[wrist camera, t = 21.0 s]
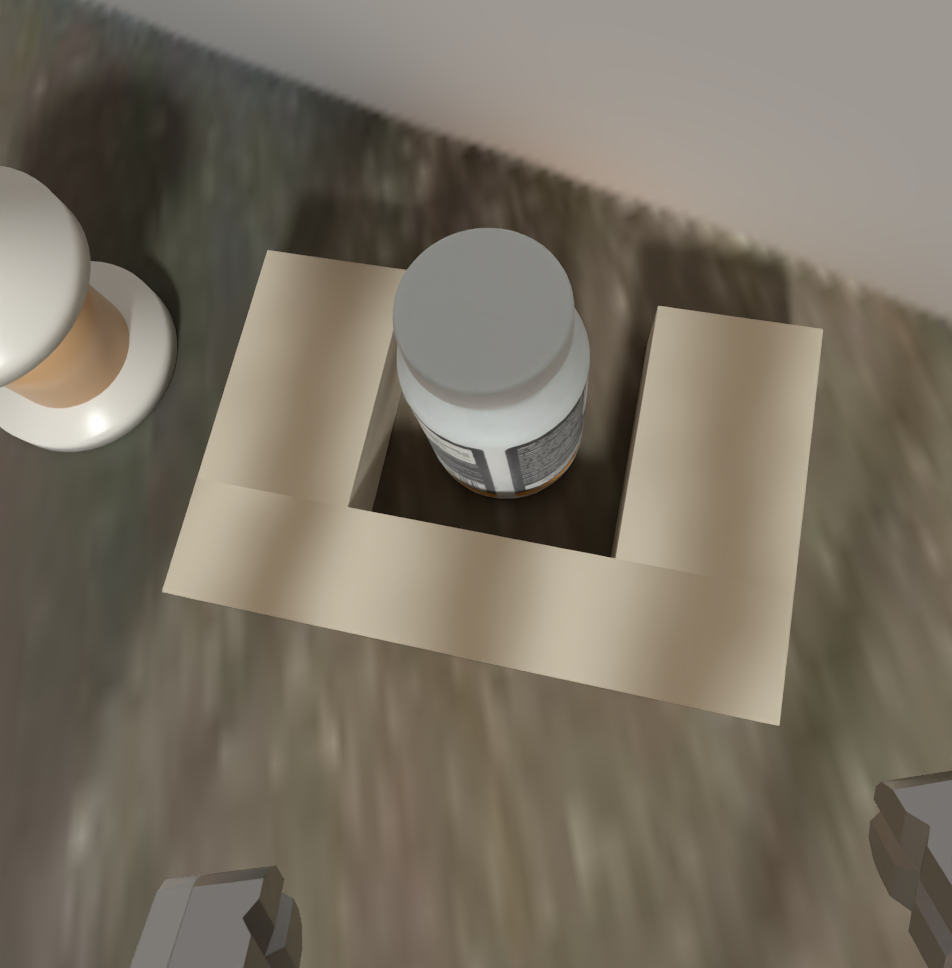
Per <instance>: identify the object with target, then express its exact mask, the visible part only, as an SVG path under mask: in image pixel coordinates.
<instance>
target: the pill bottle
mask: <svg viewBox="0 0 952 968" xmlns="http://www.w3.org/2000/svg"><path fill="white" fill-rule="evenodd" d="M392 318H393V328H394V334H395V337H396V341H397V344H398V345H397V371H398V377H399V382H400V386H401V389H402V392H403V395H404V397H405V399H406V401H407V403H408V404H409V406H410V408H411V409H412V411H413V413H414V415H415V416H416V418H417V420H418V422H419V424H420V425H421V427H422V429H423V431H424V433H425V435H426V436H427V438H428V440H429V442H430V444H431V446H432V448H433V450H434V451H435V453H436V455H437V457H438V459H439V461H440V462H441V463H442V465H443V466H444V468H445V469H446V470H447V472H448V473H449V474H450V475H451V476H452V477H453V478H454V479H455V480H456V481H458V482H459V483H460V484H462V485H463V486H464V487H466V488H468V489H469V490H471V491H473V492H475V493H478V494H481V495H484V496H488V497H493V498H498V499H513V498H520V497H525V496H529V495H532V494H535V493H537V492H539V491H541V490H543V489H545V488H547V487H548V486H550V485H551V484H553V483H554V482H555V481H556V480H558V479H559V478H560V477H561V476H562V475H563V474H564V472H565V471H566V470H567V469H568V468H569V466H570V465H571V463H572V461H573V460H574V458H575V456H576V454H577V451H578V449H579V446H580V442H581V438H582V434H583V427H584V413H585V404H586V398H587V386H588V377H589V366H590V348H589V342H588V336H587V333H586V330H585V327H584V325H583V322H582V320H581V318H580V316H579V314H578V312H577V311H576V309H575V307H574V298H573V292H572V288H571V284H570V282H569V279H568V276H567V274H566V272H565V270H564V269H563V267H562V266H561V264H560V263H559V262H558V260H557V259H556V258H555V257H554V255H553V254H552V253H551V252H550V251H549V250H548V249H547V248H545V247H544V246H543V245H542V244H540V243H538V242H537V241H535V240H534V239H532V238H530V237H528V236H526V235H523V234H520V233H518V232H515V231H511V230H506V229H499V228H476V229H470V230H465V231H461V232H458V233H455V234H452V235H450V236H447V237H445V238H443V239H441V240H439V241H438V242H436V243H434V244H433V245H431V246H430V247H429V248H427V249H426V250H425V251H424V252H422V253H421V254H420V255H419V256H418V257H417V258H416V259H415V260H414V261H413V263H412V264H411V265H410V266H409V268H408V269H407V271H406V272H405V274H404V276H403V277H402V279H401V282H400V284H399V286H398V289H397V292H396V295H395V299H394V304H393V317H392Z"/></svg>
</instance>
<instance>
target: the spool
mask: <svg viewBox="0 0 952 968" xmlns="http://www.w3.org/2000/svg"><path fill="white" fill-rule="evenodd" d="M176 359H177V335H176V329H175V326H174V322H173V319H172V317H171V315H170V313H169V311H168V309H167V307H166V306H165V304H164V303H163V302H162V300H161V299H160V298H159V297H158V296H157V295H156V294H155V293H154V292H153V291H152V290H151V289H150V288H149V287H148V286H147V285H146V284H145V283H144V282H143V281H142V280H141V279H139V278H138V277H137V276H135V275H134V274H133V273H131V272H129V271H127V270H125V269H124V268H121V267H118V266H116V265H113V264H108V263H104V262H95V261H91V259H90V251H89V246H88V242H87V239H86V235H85V233H84V231H83V229H82V227H81V225H80V223H79V222H78V220H77V219H76V217H75V216H74V214H73V213H72V212H71V211H70V210H69V209H68V208H67V207H66V206H65V205H64V204H63V203H62V202H61V201H60V200H59V199H58V198H57V197H56V196H55V195H54V194H53V193H52V192H51V191H50V190H49V189H48V188H47V187H46V186H45V185H43V184H42V183H41V182H39V181H38V180H37V179H35V178H33V177H31V176H30V175H28V174H26V173H24V172H21V171H18V170H15V169H13V168H8V167H3V166H0V427H1V428H3V429H4V430H5V431H7V432H9V433H10V434H12V435H13V436H16V437H18V438H20V439H22V440H24V441H27V442H29V443H31V444H33V445H36V446H38V447H40V448H43V449H47V450H51V451H58V452H80V451H86V450H91V449H95V448H98V447H102V446H104V445H107V444H109V443H111V442H114V441H115V440H117V439H119V438H121V437H123V436H125V435H126V434H127V433H129V432H130V431H132V430H133V429H134V428H136V427H137V426H138V425H139V424H140V423H141V422H143V421H144V420H145V419H146V418H147V417H148V416H149V414H150V413H151V412H152V411H153V410H154V409H155V407H156V406H157V405H158V403H159V402H160V400H161V399H162V397H163V395H164V394H165V392H166V390H167V388H168V386H169V384H170V381H171V379H172V376H173V373H174V369H175V365H176Z"/></svg>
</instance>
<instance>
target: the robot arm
mask: <svg viewBox="0 0 952 968" xmlns="http://www.w3.org/2000/svg"><path fill="white" fill-rule="evenodd" d="M874 801H875V803H876V804H877V806H878V808H879V810H880V812H879V813H878V814H877V815H876V816H875V817H874V818H873V819H872V820H871V821H870V829H869V841H870V846H871V851H872V856H873V860H874V862H875V865H876V868H877V870H878V873H879V875H880V877H881V879H882V881H883V883H884V885H885V887H886V889H887V891H888V893H889V895H890V896H891V897H892V898H894V899H895V900H896V901H898V902H899V903H901V904H902V905H903V906H905V907H906V908H907V909H909V910H910V911H911V919H910V925H909V933H910V935H911V936H912V938H913V940H914V942H915V944H916V946H917V948H918V949H919V951H920V953H921V955H922V957H923V959H924V961H925V962H926V964H927V966H928V968H952V771H947V772H940V773H934V774H927V775H921V776H914V777H908V778H902V779H895V780H889V781H882V782H880V783H879V784H878V785H877V786H876V789H875V795H874ZM283 882H284V878H283V877H282V875H281V873H280V871H279V870H278V868H277V866H269V867H261V868H253V869H245V870H237V871H229V872H222V873H214V874H201V875H194V876H187V877H180V878H173V879H166V880H165V881H164V883H163V884H162V885H161V887H160V888H159V890H158V891H157V893H156V894H155V897H154V900H153V903H152V906H151V908H150V911H149V914H148V917H147V920H146V923H145V925H144V928H143V931H142V934H141V937H140V940H139V942H138V945H137V948H136V951H135V954H134V957H133V959H132V962H131V965H130V968H299V966H300V959H301V952H302V923H301V918H300V913H299V909H298V907H297V905H296V903H295V900H294V898H292V897H290V896H288V895H286V894H284V893H282V888H283Z"/></svg>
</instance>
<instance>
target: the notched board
mask: <svg viewBox="0 0 952 968" xmlns="http://www.w3.org/2000/svg"><path fill="white" fill-rule="evenodd" d="M406 271H407V270H404V269H396V268H389V267H382V266H375V265H368V264H361V263H354V262H347V261H340V260H333V259H326V258H319V257H312V256H305V255H298V254H291V253H284V252H277V251H270V250H268V251H267V254H266V257H265V260H264V264H263V267H262V270H261V273H260V276H259V280H258V283H257V286H256V289H255V293H254V296H253V299H252V302H251V306H250V309H249V312H248V315H247V319H246V322H245V325H244V328H243V331H242V335H241V338H240V341H239V344H238V348H237V351H236V354H235V357H234V361H233V364H232V367H231V370H230V373H229V377H228V380H227V383H226V386H225V390H224V393H223V396H222V399H221V403H220V406H219V409H218V412H217V415H216V419H215V422H214V425H213V428H212V432H211V435H210V438H209V441H208V445H207V448H206V451H205V454H204V458H203V461H202V464H201V467H200V470H199V474H198V477H197V480H196V483H195V487H194V490H193V493H192V496H191V500H190V503H189V506H188V509H187V512H186V516H185V519H184V522H183V525H182V529H181V532H180V535H179V538H178V542H177V545H176V548H175V551H174V554H173V558H172V561H171V564H170V567H169V571H168V574H167V577H166V580H165V584H164V587H163V590H162V592H165V593H170V594H174V595H178V596H183V597H187V598H192V599H196V600H201V601H205V602H210V603H214V604H219V605H224V606H228V607H233V608H237V609H242V610H247V611H251V612H256V613H260V614H265V615H270V616H274V617H279V618H283V619H288V620H293V621H297V622H302V623H306V624H311V625H316V626H320V627H325V628H329V629H334V630H339V631H343V632H348V633H352V634H357V635H362V636H366V637H371V638H375V639H380V640H385V641H389V642H394V643H398V644H403V645H408V646H412V647H417V648H421V649H426V650H431V651H435V652H440V653H444V654H449V655H454V656H458V657H463V658H467V659H472V660H477V661H481V662H486V663H490V664H495V665H500V666H504V667H509V668H513V669H518V670H523V671H527V672H532V673H536V674H541V675H546V676H550V677H555V678H559V679H564V680H569V681H573V682H578V683H583V684H587V685H592V686H596V687H601V688H606V689H610V690H615V691H619V692H624V693H629V694H633V695H638V696H642V697H647V698H652V699H656V700H661V701H665V702H670V703H675V704H679V705H684V706H688V707H693V708H698V709H702V710H707V711H711V712H716V713H721V714H725V715H730V716H734V717H739V718H744V719H748V720H753V721H758V722H763V723H768V724H772V725H777V726H779V725H780V715H781V706H782V697H783V688H784V679H785V670H786V661H787V652H788V643H789V634H790V625H791V616H792V607H793V598H794V589H795V580H796V570H797V561H798V552H799V543H800V534H801V525H802V516H803V507H804V498H805V489H806V480H807V471H808V462H809V453H810V444H811V435H812V425H813V416H814V407H815V398H816V389H817V380H818V371H819V362H820V353H821V344H822V335H823V329H818V328H811V327H804V326H797V325H790V324H783V323H776V322H769V321H762V320H755V319H748V318H741V317H734V316H727V315H720V314H713V313H706V312H699V311H692V310H685V309H678V308H671V307H664V306H658V308H657V311H656V315H655V318H654V321H653V325H652V328H651V332H650V335H649V338H648V342H647V347H646V353H645V358H644V364H643V370H642V376H641V382H640V388H639V394H638V400H637V406H636V411H635V417H634V423H633V429H632V435H631V441H630V447H629V453H628V459H627V464H626V470H625V476H624V482H623V488H622V494H621V500H620V506H619V511H618V517H617V523H616V529H615V535H614V541H613V547H612V553H611V558H610V557H605V556H600V555H595V554H589V553H584V552H579V551H574V550H568V549H563V548H558V547H553V546H548V545H542V544H537V543H532V542H527V541H522V540H516V539H511V538H506V537H501V536H496V535H490V534H485V533H480V532H475V531H469V530H464V529H459V528H454V527H449V526H443V525H438V524H433V523H428V522H423V521H417V520H412V519H407V518H402V517H397V516H391V515H386V514H381V513H376V512H372V509H373V505H374V501H375V497H376V493H377V489H378V485H379V481H380V477H381V473H382V469H383V465H384V461H385V457H386V453H387V449H388V445H389V441H390V437H391V433H392V429H393V425H394V421H395V417H396V413H397V409H398V405H399V401H400V397H401V393H402V389H401V386H400V382H399V377H398V371H397V345H398V344H397V341H396V337H395V334H394V328H393V318H392V317H393V304H394V299H395V295H396V292H397V289H398V286H399V284H400V282H401V279H402V277H403V276H404V274H405V272H406Z"/></svg>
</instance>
